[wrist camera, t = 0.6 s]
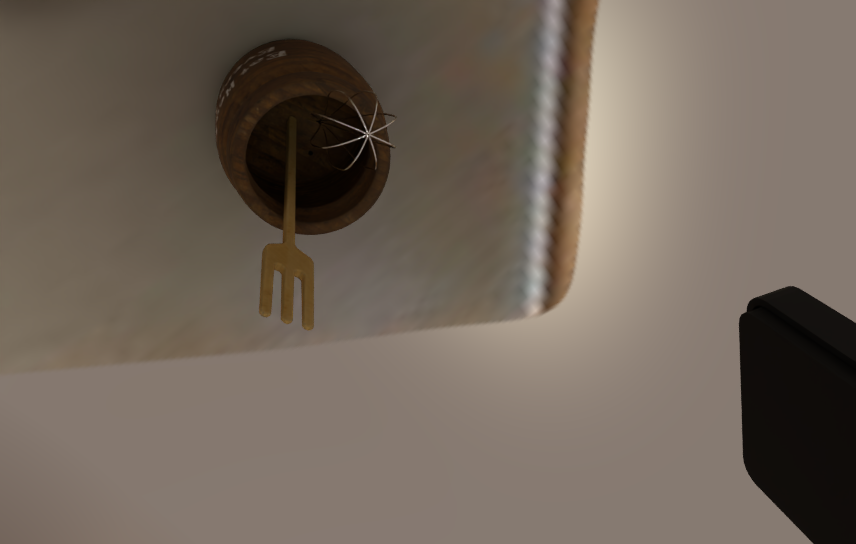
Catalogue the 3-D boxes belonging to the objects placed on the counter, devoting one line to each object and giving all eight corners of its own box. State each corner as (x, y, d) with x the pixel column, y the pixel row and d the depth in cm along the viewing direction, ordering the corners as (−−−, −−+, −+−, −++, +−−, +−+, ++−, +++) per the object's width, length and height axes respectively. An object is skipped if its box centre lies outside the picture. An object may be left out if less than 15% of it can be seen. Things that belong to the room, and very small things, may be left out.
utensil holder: (390, 73, 30) (486, 153, 19) (327, 211, 31) (384, 354, 21) (250, 6, 27) (270, 55, 17) (190, 159, 29) (175, 290, 19)
